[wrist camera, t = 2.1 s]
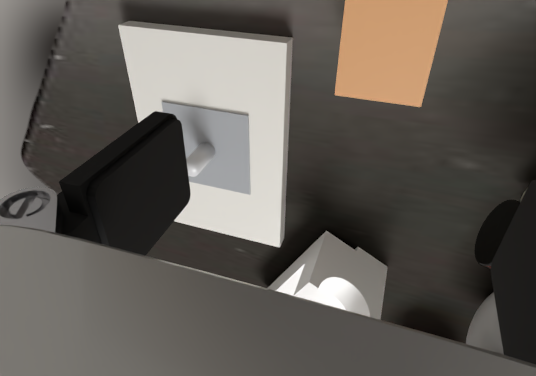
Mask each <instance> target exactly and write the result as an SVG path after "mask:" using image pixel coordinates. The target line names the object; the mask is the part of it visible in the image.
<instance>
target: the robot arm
mask: <svg viewBox="0 0 536 376" xmlns="http://www.w3.org/2000/svg"><path fill="white" fill-rule="evenodd" d="M59 183H60V186H61V189H62V192H61V193H59V194H58V195H57V194H56V192H54V191H53V190H52V189H49V188H46V187H32V188H25V189H21V190H18V191H16V192H13V193H10V194H9V195H7V196H5V197H3V198H2V199H0V376H536V180H532V181H531V182H530V184H529V186H528V188H527V190H526V192H525V194H524V196H523V198H522V200H521V202H520V204H519V207H518V209H517V211H516V213H515V215H514V217H513V219H512V221H511V223H510V225H509V227H508V229H507V231H506V233H505V235H504V237H503V240H502V242H501V244H500V246H499V248H498V250H497V252H496V254H495V256H494V258H493V261H492V264H491V278H492V285H493V291H494V297H495V303H496V309H497V316H498V322H499V328H500V334H501V340H502V347H503V353H504V355H503V354H500V353H497V352H493V351H490V350H486V349H482V348H479V347H475V346H471V345H468V344H464V343H461V342H457V341H454V340H450V339H447V338H444V337H440V336H437V335H433V334H429V333H426V332H422V331H419V330H415V329H411V328H408V327H404V326H401V325H397V324H394V323H390V322H386V321H383V320H379V319H376V318H372V317H368V316H365V315H361V314H358V313H354V312H350V311H347V310H343V309H340V308H336V307H333V306H329V305H325V304H322V303H318V302H314V301H311V300H307V299H304V298H300V297H296V296H293V295H289V294H285V293H282V292H278V291H274V290H271V289H267V288H263V287H260V286H256V285H252V284H249V283H245V282H241V281H238V280H234V279H230V278H227V277H223V276H219V275H216V274H212V273H208V272H205V271H201V270H197V269H193V268H190V267H186V266H182V265H178V264H175V263H171V262H167V261H164V260H160V259H156V258H152V257H149V256H145V255H146V254H147V253H148V252H149V251H150V249H151V248H152V247H153V246H154V244H155V243H156V242H157V241H158V240H159V238H160V237H161V236H162V235H163V234H164V232H165V231H166V230H167V229H168V227H169V226H170V225H171V224H172V223H173V221H174V220H175V219H176V218H177V216H178V215H179V214H180V213H181V212H182V210H183V209H184V208H185V207H186V205H187V204H188V202H189V200H190V195H191V193H190V184H189V177H188V169H187V161H186V154H185V146H184V138H183V130H182V124H181V122H180V120H177V118H176V116H175V115H174V114H170V113H164V112H158V111H155V112H153V113H151V114H150V115H149V116H147V117H146V118H145V119H143V120H142V121H140V122H139V123H138V124H136V125H135V126H134V127H132V128H131V129H130V130H128V131H127V132H126V133H124V134H123V135H122V136H120V137H119V138H117V139H116V140H115V141H113V142H112V143H111V144H109V145H108V146H107V147H105V148H104V149H103V150H101V151H100V152H98V153H97V154H96V155H94V156H93V157H92V158H90V159H89V160H88V161H86V162H85V163H84V164H82V165H81V166H80V167H78V168H77V169H75V170H74V171H73V172H71V173H70V174H69V175H67V176H66V177H65V178H63V179H62V180H61V181H59Z"/></svg>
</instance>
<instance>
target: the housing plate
mask: <svg viewBox="0 0 536 376" xmlns="http://www.w3.org/2000/svg"><path fill="white" fill-rule="evenodd" d="M118 26H119V31H120V36H121V41H122V46H123V51H124V56H125V60H126V65H127V70H128V75H129V80H130V85H131V89H132V94H133V99H134V104H135V109H136V114H137V119H138V123H139V122H140V121H142V120H143V119H145V118H146V117H147V116H149V115H150V114H151V113H153V112H155V111H158V112H164V113H170V114H174V115H175V116H176V118H177V120H180V122H181V124H182V130H183V138H184V146H185V154H186V161H187V169H188V177H189V184H190V193H191V195H190V200H189V202H188V204H187V205H186V207H185V208H184V209H183V210H182V212H181V213H180V214H179V215H178V216H177V218H176V219H175V220H174V221H175V222H179V223H183V224H187V225H191V226H195V227H199V228H204V229H208V230H212V231H216V232H220V233H224V234H228V235H232V236H236V237H240V238H244V239H248V240H252V241H256V242H260V243H264V244H268V245H272V246H276V247H280V246H281V244H282V242H283V239H284V231H285V207H286V184H287V161H288V137H289V114H290V91H291V67H292V44H293V38H292V37H282V36H273V35H263V34H253V33H244V32H234V31H224V30H215V29H205V28H195V27H186V26H176V25H166V24H157V23H147V22H137V21H127V22H125V23H122V24H120V25H118Z"/></svg>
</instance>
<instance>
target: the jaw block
mask: <svg viewBox="0 0 536 376" xmlns="http://www.w3.org/2000/svg"><path fill="white" fill-rule="evenodd" d="M447 2H448V0H345V7H344V16H343V25H342V34H341V42H340V51H339V60H338V69H337V78H336V87H335V95H337V96H344V97H352V98H359V99H366V100H373V101H380V102H388V103H395V104H402V105H409V106H416V107H421V105H422V101H423V97H424V93H425V89H426V85H427V81H428V77H429V73H430V69H431V65H432V61H433V57H434V54H435V50H436V46H437V42H438V38H439V34H440V30H441V26H442V22H443V18H444V14H445V10H446V6H447Z"/></svg>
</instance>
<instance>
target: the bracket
mask: <svg viewBox="0 0 536 376" xmlns="http://www.w3.org/2000/svg"><path fill="white" fill-rule="evenodd" d="M386 274H387V266H386V265H384V264H383V263H381V262H380V261H378V260H377V259H375V258H374V257H373V256H371V255H370V254H368V253H367V252H365V251H364V250H362V249H361V248H359V247H357V248H356V249H353V248H351V247H350V246H348V245H347V244H345V243H344V242H342V241H341V240H339V239H338V238H337V237H335V236H334V235H332V234H331V233H329V232H328V231H326V232H325V233H323V234H322V235H321V236H320V237H319V238H318V239H317V240H316V241H315V242H314V243H313V244H312V245H311V246H310V247H309V248H308V249H307V250H306V251H305V252H304V253H303V254H302V255H301V256H300V257H299V258H298V259H297V260H296V261H295V262H294V263H293V264H292V265H291V266H290V267H289V268H288V269H287V270H285V271H284V272H283V273H282V274H281V275H280V276H279V277H278V278H277V279H276V280H275V281H274V282H273V283H272V284H271V285H270V286H269V287H268V288H267V289H271V290H274V291H278V292H282V293H285V294H289V295H293V296H296V297H300V298H304V299H307V300H311V301H314V302H318V303H322V304H325V305H329V306H333V307H336V308H340V309H343V310H347V311H350V312H354V313H358V314H361V315H365V316H368V317H372V318H376V319H379V320H380V318H381V311H382V304H383V296H384V289H385V282H386Z"/></svg>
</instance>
